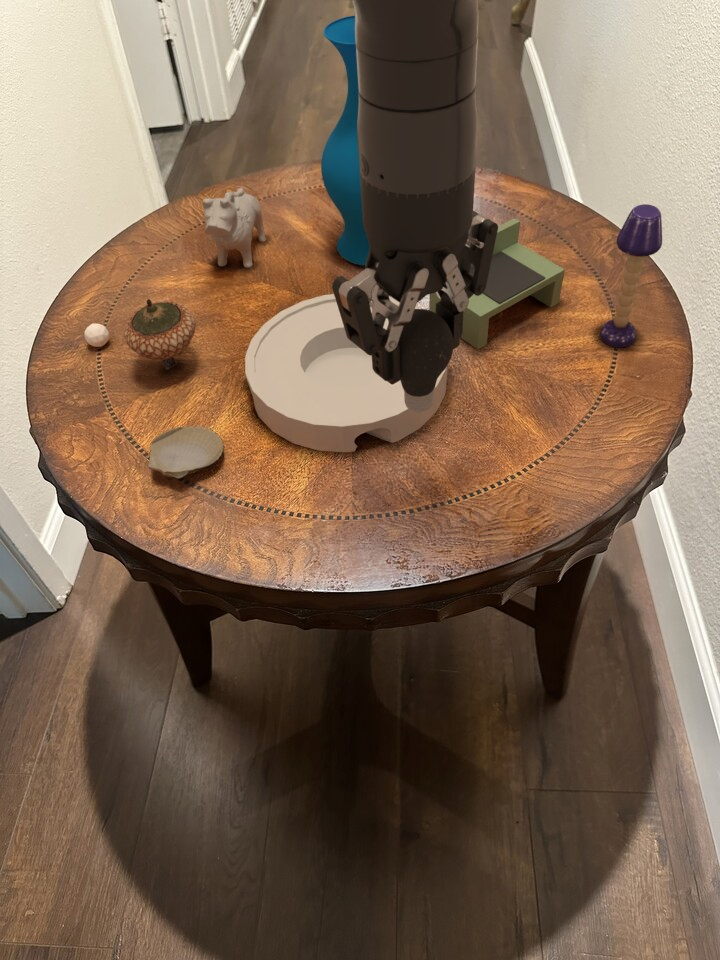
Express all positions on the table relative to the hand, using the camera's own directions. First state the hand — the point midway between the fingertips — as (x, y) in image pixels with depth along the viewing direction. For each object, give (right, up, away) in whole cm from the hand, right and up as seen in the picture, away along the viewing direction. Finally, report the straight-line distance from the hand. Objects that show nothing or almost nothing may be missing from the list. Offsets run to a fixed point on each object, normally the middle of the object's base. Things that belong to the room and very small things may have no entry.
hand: (418, 360), depth 61 cm
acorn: (-28, +4, +30) cm, 41 cm away
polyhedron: (-38, +7, +34) cm, 51 cm away
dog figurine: (-22, +22, +45) cm, 55 cm away
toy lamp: (+26, +7, +29) cm, 40 cm away
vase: (-3, +23, +45) cm, 50 cm away
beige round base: (-6, +2, +27) cm, 28 cm away
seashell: (-23, -8, +20) cm, 32 cm away
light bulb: (0, -4, +4) cm, 6 cm away
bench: (+12, +12, +34) cm, 38 cm away
